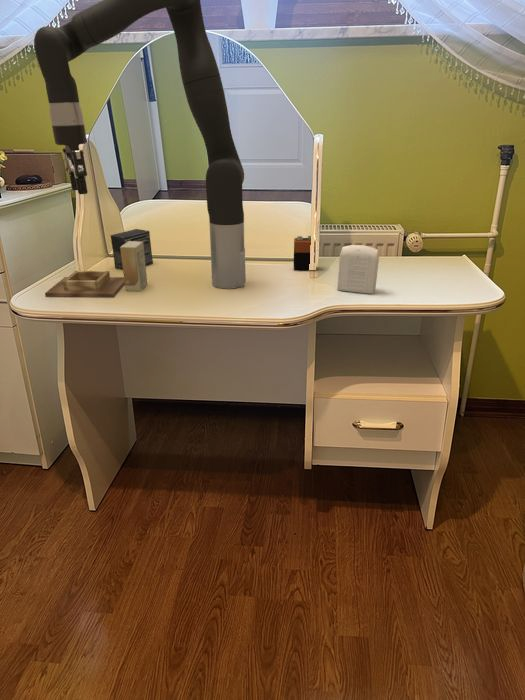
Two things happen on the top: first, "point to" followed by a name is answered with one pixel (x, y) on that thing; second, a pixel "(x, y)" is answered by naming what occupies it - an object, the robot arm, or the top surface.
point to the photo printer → (358, 269)
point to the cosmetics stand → (87, 285)
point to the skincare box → (134, 265)
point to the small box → (131, 236)
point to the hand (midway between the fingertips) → (79, 192)
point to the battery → (302, 253)
